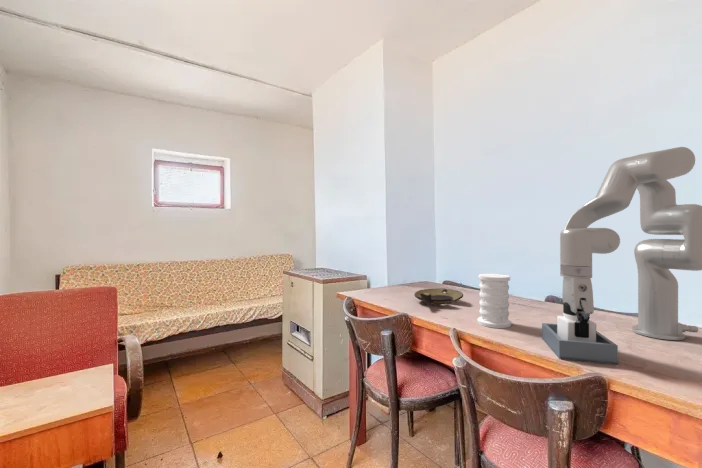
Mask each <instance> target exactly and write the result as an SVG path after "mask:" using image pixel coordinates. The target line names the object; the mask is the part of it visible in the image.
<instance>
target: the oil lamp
mask: <svg viewBox="0 0 702 468" xmlns="http://www.w3.org/2000/svg"><path fill="white" fill-rule="evenodd" d="M413 296H414V297H415V298H416V299H418V300H420V301H421V302H423V303H426V305H429V306H430V305H434V306H435V305H437V306H438V305H439V306H440V305H441V306H442V305H447V304H451V303H453V302H456V301H458V300H459V301H460V299H462V298H464V292H462V291H461V290H460V291H459V290H456V289H452V288H443V287H441V288H439V287H437V288H436V287H435V288H423V289H420V290H417V291H415V293H414V295H413Z"/></svg>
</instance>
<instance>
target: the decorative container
mask: <svg viewBox="0 0 702 468" xmlns="http://www.w3.org/2000/svg"><path fill="white" fill-rule="evenodd" d="M477 279H479V284H478V287H479V288H480V291H479V297H480V298H479V307H480V308H479V311H478V312H479V314H480V316H479V317H477V321H476V322H477V324H478V325H481V326H483V327H487V328H492V329H508V328H510V327H512V321H511V320H510V319H509V316H510V311H509V307H510V302H509V299H510V294H509V290H510V285H509V281H511V276H510V275H508V274H501V273H479V274H478V276H477Z"/></svg>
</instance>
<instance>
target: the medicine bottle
mask: <svg viewBox="0 0 702 468" xmlns="http://www.w3.org/2000/svg"><path fill="white" fill-rule="evenodd" d="M562 306H563V309H562V311H563V313H562V314H563V315H557V318H556V319H557V320H556V321H557V322H556V324H557V335H558V336H559V337H560V338H561V339H562V340H573V341H585V342H596V331H597V323H596V322H594V321H592V320H590V319H589V338H582V337H576V336H575V322H576V318H575V313H574V312H572V311H571V309H570V305H569V304H568V303H567V302H565V303H563V302H562ZM577 311H582V310H580V309H578V310H577ZM580 316H581V315H579V317H580Z"/></svg>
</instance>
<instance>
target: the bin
mask: <svg viewBox="0 0 702 468" xmlns="http://www.w3.org/2000/svg"><path fill="white" fill-rule="evenodd" d="M541 339H542V341H544V343H545V344H546V345H547V346H548V348H550V350H551V351H552V352H553V353H554V354H555V356H556V357H557V358H558V359H559V360H567V361H576V362H586V363H595V364H596V363H598V364H607V365H615V366H618V365H619V364H618V363H619V361H618V359H619V358H618V357H619V356H618V355H619V353H618V351H619V350H618V349H619V345H617V344H616V343H615V342H613V341H612V340H611V339H609V338H607V337H606V336H605V335H603V334H602V333H600V332H599V331H597V330H596V342H585V341H573V340H562V339H561V338H560V337H559V336H558V335H557V323H546V322H541Z"/></svg>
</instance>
